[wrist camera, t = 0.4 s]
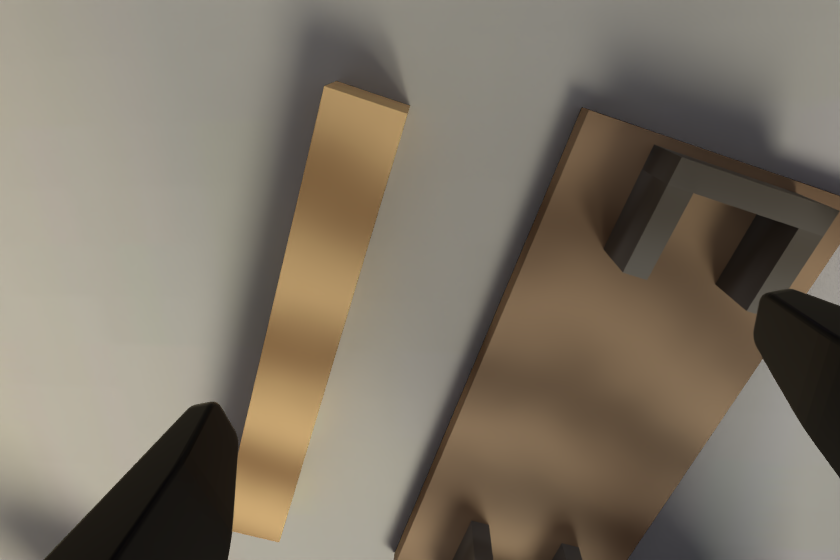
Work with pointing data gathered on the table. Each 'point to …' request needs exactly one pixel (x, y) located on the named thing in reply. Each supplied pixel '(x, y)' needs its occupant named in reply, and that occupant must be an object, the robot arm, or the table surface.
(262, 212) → the table surface
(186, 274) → the table surface
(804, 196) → the endcap frame
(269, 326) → the slat
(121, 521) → the robot arm
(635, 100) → the table surface
